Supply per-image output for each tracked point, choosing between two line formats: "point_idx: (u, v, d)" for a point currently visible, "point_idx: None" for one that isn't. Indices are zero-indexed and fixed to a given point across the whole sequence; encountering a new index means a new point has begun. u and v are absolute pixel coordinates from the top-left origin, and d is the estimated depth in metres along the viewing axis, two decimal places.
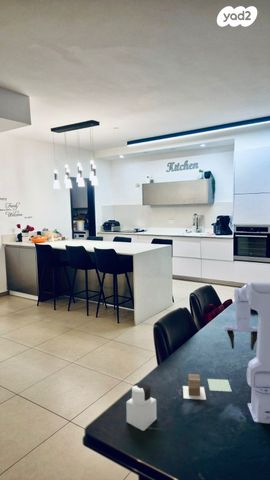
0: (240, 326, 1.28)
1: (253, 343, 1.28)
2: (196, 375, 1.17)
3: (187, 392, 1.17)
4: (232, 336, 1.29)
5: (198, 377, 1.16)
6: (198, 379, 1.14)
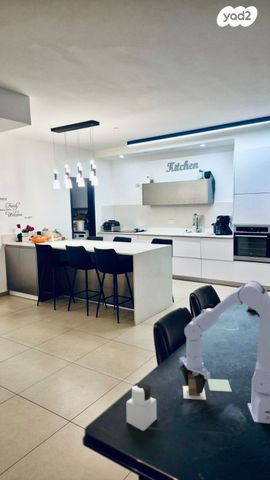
0: (186, 363, 1.15)
1: (197, 386, 1.12)
2: None
3: (187, 392, 1.17)
4: (182, 371, 1.18)
5: None
6: None
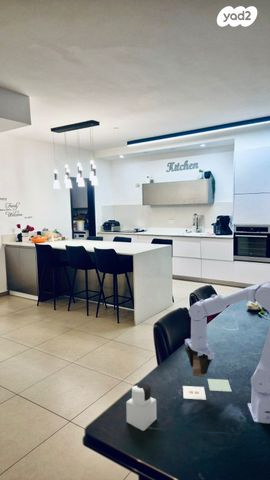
0: (191, 343, 1.15)
1: (201, 366, 1.12)
2: None
3: (187, 392, 1.17)
4: (187, 352, 1.18)
5: None
6: None
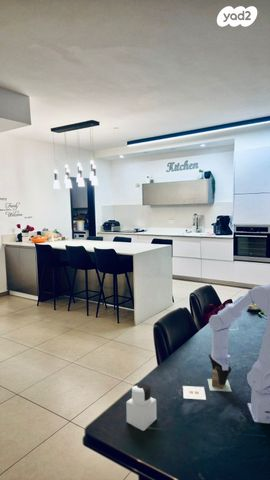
0: None
1: (218, 377, 1.17)
2: None
3: (187, 392, 1.17)
4: (210, 359, 1.25)
5: None
6: None
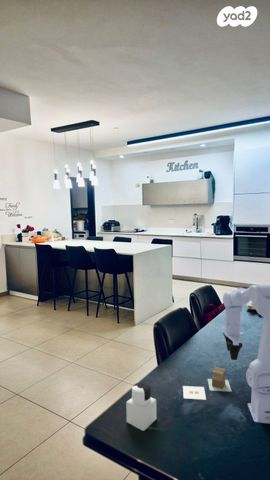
0: None
1: (230, 352, 1.22)
2: (222, 369, 1.21)
3: (187, 392, 1.17)
4: (224, 336, 1.31)
5: (222, 371, 1.20)
6: (221, 372, 1.19)
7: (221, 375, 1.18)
